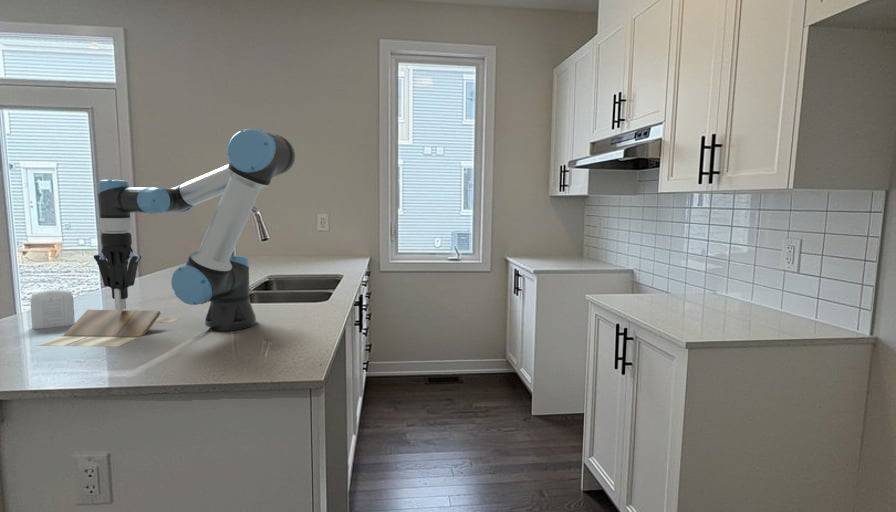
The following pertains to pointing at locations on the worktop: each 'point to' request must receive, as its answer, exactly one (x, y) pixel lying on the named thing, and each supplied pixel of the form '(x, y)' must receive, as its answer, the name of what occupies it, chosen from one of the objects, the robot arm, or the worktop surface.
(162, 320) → the plank
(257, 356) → the worktop surface
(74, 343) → the light wood flat board
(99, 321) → the plank
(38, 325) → the photo printer
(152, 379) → the worktop surface
